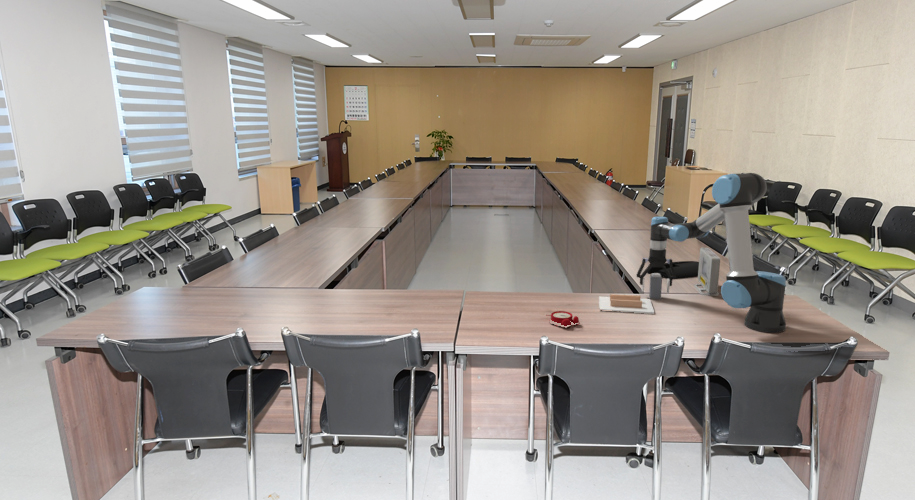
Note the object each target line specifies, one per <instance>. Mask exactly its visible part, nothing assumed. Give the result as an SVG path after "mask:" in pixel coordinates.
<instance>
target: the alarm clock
mask: <svg viewBox="0 0 915 500" xmlns="http://www.w3.org/2000/svg"><path fill="white" fill-rule="evenodd" d="M545 316H548V317H550V319H551V320H552V321H554V322H557V323H561V325H564V326H567V325H571V322H573V323H574V324H575V323H578V324H577V325H576V326H578V325H580V324H581V322H580V320H579V317H578V315H577V316H576V315H575V316H573V314H572V313H571V312H568V311H564V310H557V311H553V312H551V314H546V315H545ZM570 321H571V322H570ZM573 326H574V325H572V326H571V327H573Z"/></svg>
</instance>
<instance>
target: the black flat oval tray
mask: <svg viewBox="0 0 915 500" xmlns="http://www.w3.org/2000/svg"><path fill="white" fill-rule="evenodd" d="M672 265H673V268H674V271H675V274H676V279H675V280H681V279H690V278H691V279H692V278H698V270H699V261H697V260H684V261H681V260H680V261H672ZM664 266H665V268H666V269H667V271H668V272H669V274H670V275H671V276H673V275H672V272H671V269H670V265H669V264H668V262H666V263H665V264H664ZM652 273H658V274H660V275H661V276H662V279H667V280H668V279H669V277H668V276H667V274H666V272H665V271H664V269H663V268H662V267H660V268H659V267H652V268H651V269H650V270H649V271H648V273H647V274H649V275H652Z"/></svg>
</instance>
